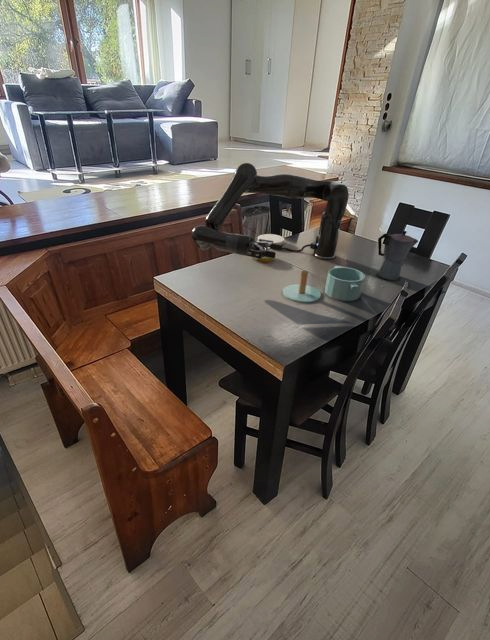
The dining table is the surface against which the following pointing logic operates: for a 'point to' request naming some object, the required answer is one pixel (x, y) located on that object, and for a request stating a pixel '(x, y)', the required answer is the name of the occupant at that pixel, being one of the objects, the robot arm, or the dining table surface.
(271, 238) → the plastic lid
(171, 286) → the dining table surface
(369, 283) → the dining table surface
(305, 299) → the pot lid
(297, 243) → the dining table surface
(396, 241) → the moka pot
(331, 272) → the pot
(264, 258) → the decorated donut
